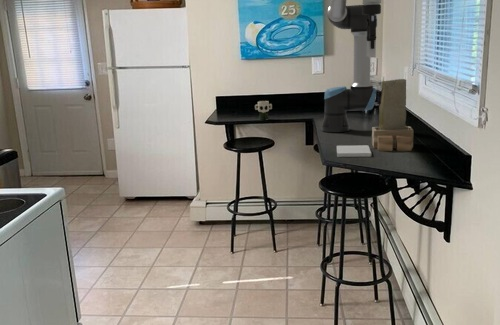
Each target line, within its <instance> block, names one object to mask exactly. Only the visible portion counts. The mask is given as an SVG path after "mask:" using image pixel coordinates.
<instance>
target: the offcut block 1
mask: <svg viewBox="0 0 500 325" xmlns="http://www.w3.org/2000/svg"><path fill="white" fill-rule="evenodd" d="M376 149H377V150H378V151H379V152H380V151H383V152H384V151H386V152H388V151H390V152H391V151H393V149H394V148H393V137H392V136H378V147H377V148H376ZM378 151H377V152H378Z"/></svg>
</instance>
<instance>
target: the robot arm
mask: <svg viewBox="0 0 500 325" xmlns="http://www.w3.org/2000/svg"><path fill="white" fill-rule="evenodd" d="M381 3H382V0H362V4H357V5H355V4H354V5H347V0H330V2H329V7H328V9H327V18H328V21H329V22H330V23H331V25H333V26H334V27H336V28H338V29H340V30H350V33H351V35H352V36H353V83H351V84H350V88H347V86H345V85H344V86H343V85H342V86H336V87H335V86H334V87H330V88H327V89H325V91H324V98H323V100H324V117H323V121H322V124H321V131H322V132H326V133H343V132H345V133H346V132H348V131H350V129H351V128H350V124H349V121H348V116H347V111H349V112H350V111H371V110H373V108H374V106H375V103H376V102H375V101H376V95H377V94H376V91H377V88H375V87H374V84H373V83H372V82H371V58H376V56H377V55H376V51H377V50H376V48H377V47H376V46H377V41H376V40H377V27H378V16H377V15H380V14H381V13H382V5H381Z"/></svg>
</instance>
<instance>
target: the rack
mask: <svg viewBox="0 0 500 325" xmlns="http://www.w3.org/2000/svg"><path fill="white" fill-rule="evenodd" d="M401 135H411V137H412V149H413V148H414V129H413V128H412V126H409V125H408V126H407V125H406V130H380V129H379V126H372V127H371V144H372V145H371V146H372V147H373V148H374V149H377V147H378V136H392V137H393V148H392V149H396V136H401Z"/></svg>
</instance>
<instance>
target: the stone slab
mask: <svg viewBox="0 0 500 325" xmlns="http://www.w3.org/2000/svg"><path fill="white" fill-rule="evenodd" d="M406 106H407V79H406V78H399V79H391V80H383V81H381V95H380V103H379V107H378V110H379V111H378V125H379V126H378V127H379V129H380V130H406V126H407V125H406V121H407V107H406Z"/></svg>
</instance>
